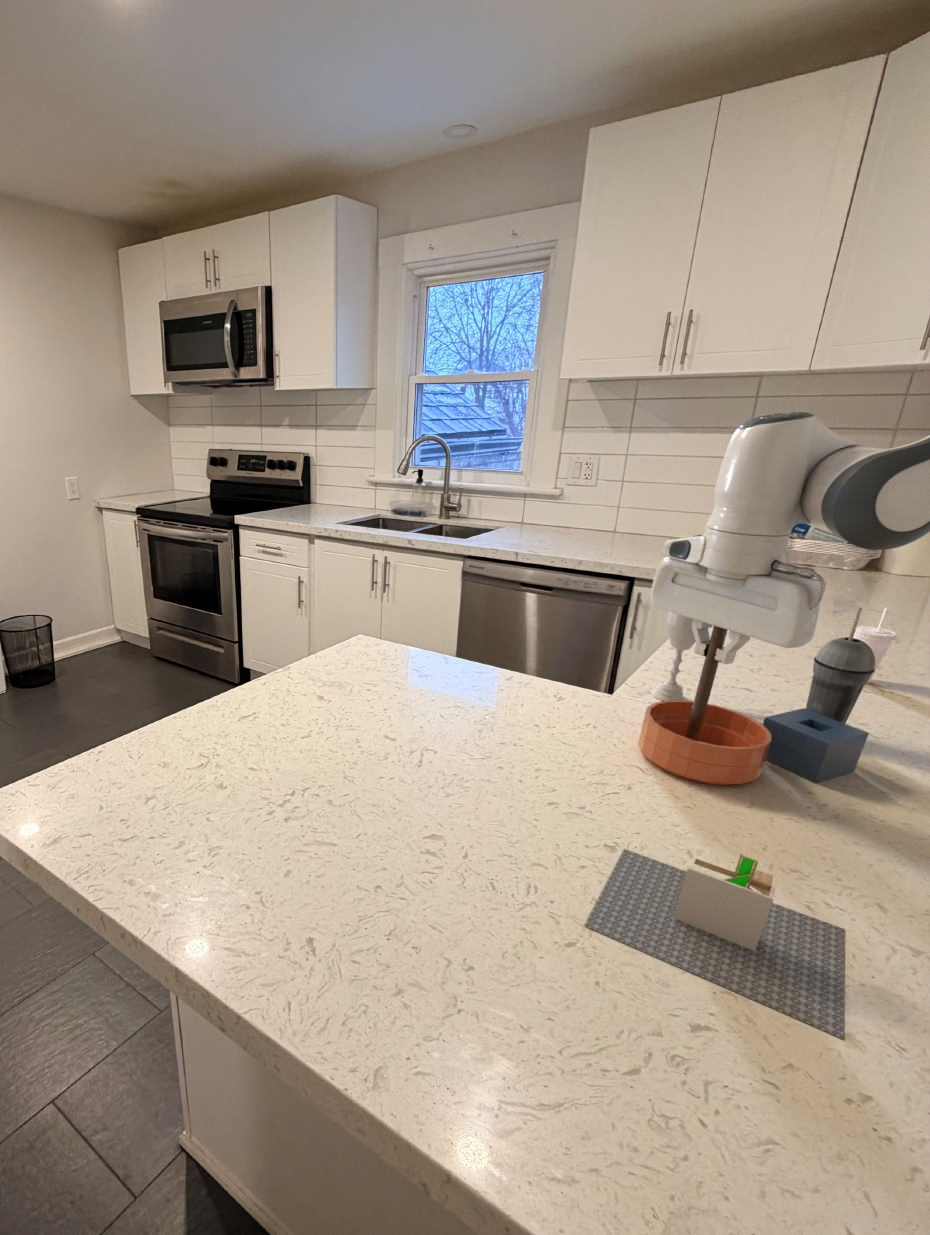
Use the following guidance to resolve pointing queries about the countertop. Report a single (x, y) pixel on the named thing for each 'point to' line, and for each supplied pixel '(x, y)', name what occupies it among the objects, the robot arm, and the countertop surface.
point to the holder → (813, 744)
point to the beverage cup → (840, 675)
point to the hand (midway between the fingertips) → (712, 658)
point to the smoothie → (876, 639)
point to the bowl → (705, 743)
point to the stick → (705, 684)
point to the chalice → (681, 641)
